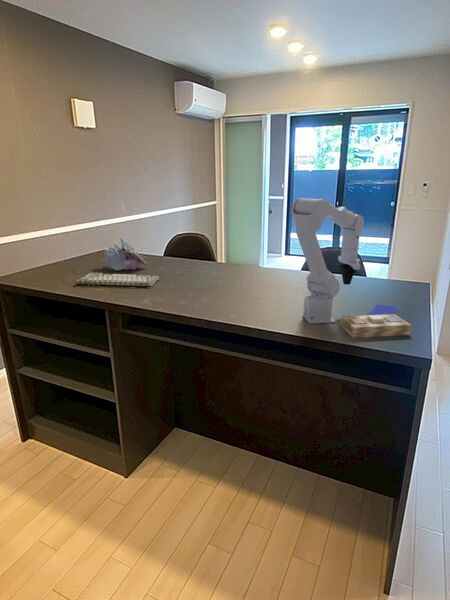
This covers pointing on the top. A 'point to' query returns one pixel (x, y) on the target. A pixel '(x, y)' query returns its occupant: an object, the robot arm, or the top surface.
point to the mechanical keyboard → (115, 281)
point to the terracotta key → (357, 321)
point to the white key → (375, 319)
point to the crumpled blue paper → (122, 257)
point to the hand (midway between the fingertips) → (346, 283)
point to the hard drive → (383, 310)
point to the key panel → (375, 327)
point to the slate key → (392, 319)
